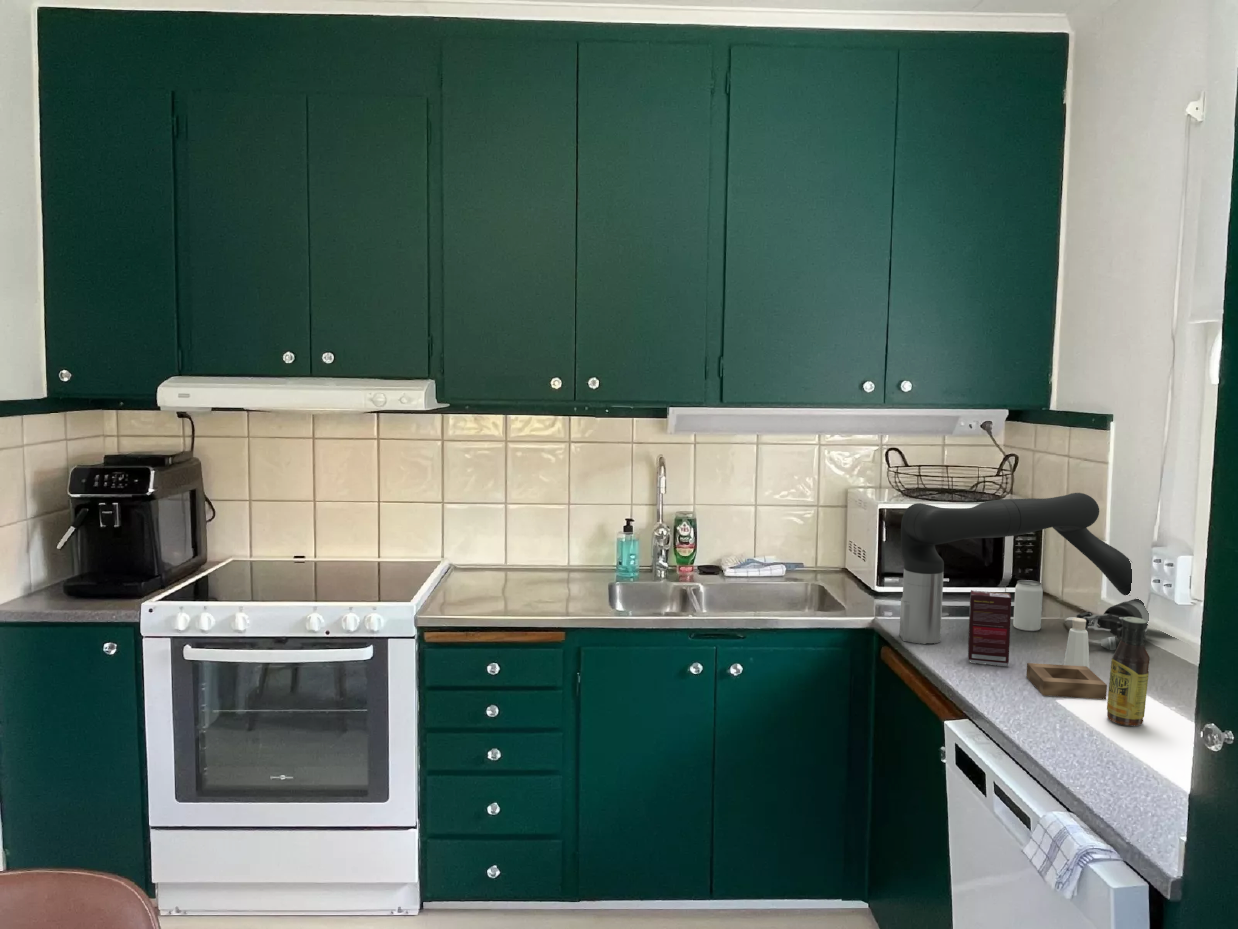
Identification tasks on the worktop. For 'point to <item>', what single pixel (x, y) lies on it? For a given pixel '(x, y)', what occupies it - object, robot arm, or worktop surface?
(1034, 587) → the can
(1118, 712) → the sauce bottle
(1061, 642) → the worktop surface
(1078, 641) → the pepper shaker
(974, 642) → the supplement box
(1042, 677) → the socket block
